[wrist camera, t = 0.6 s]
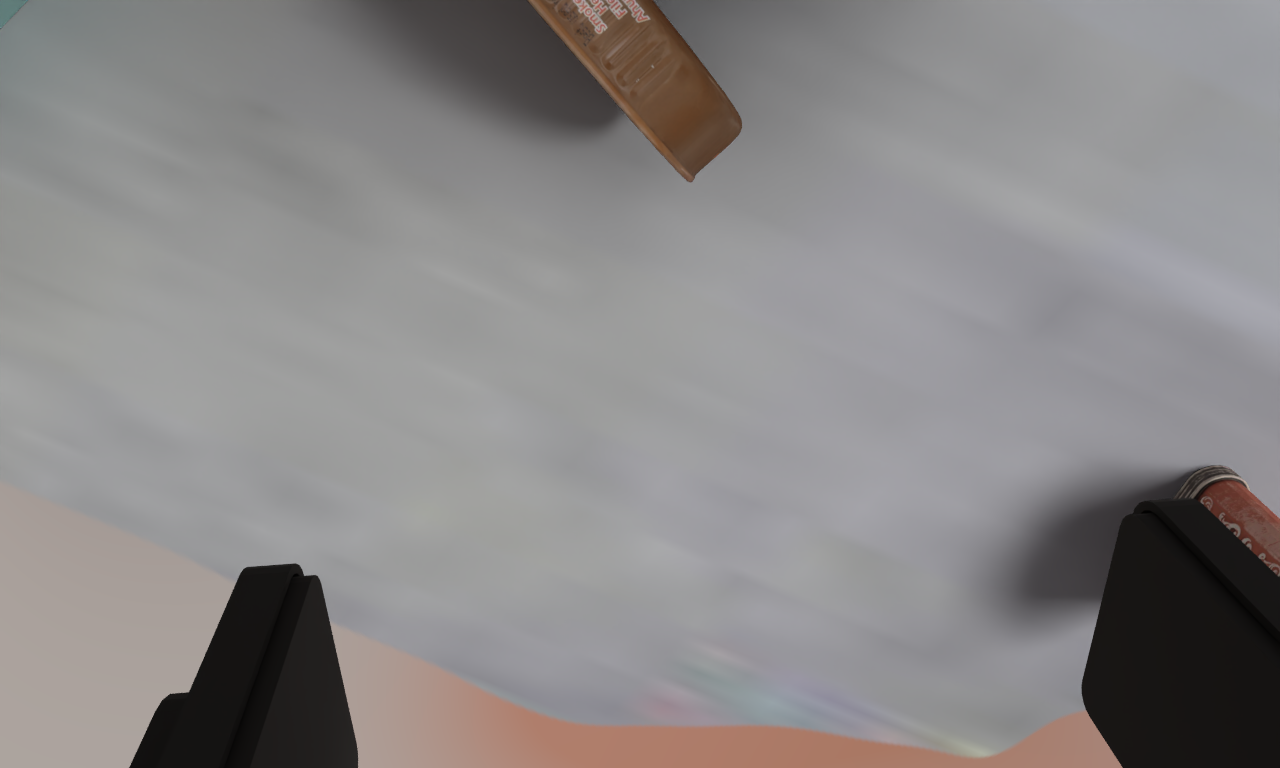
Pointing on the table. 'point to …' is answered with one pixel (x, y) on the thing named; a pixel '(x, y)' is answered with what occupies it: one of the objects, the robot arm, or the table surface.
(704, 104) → the tin
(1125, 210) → the table surface
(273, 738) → the robot arm
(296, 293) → the table surface
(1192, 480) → the lighter
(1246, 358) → the table surface
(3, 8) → the box
